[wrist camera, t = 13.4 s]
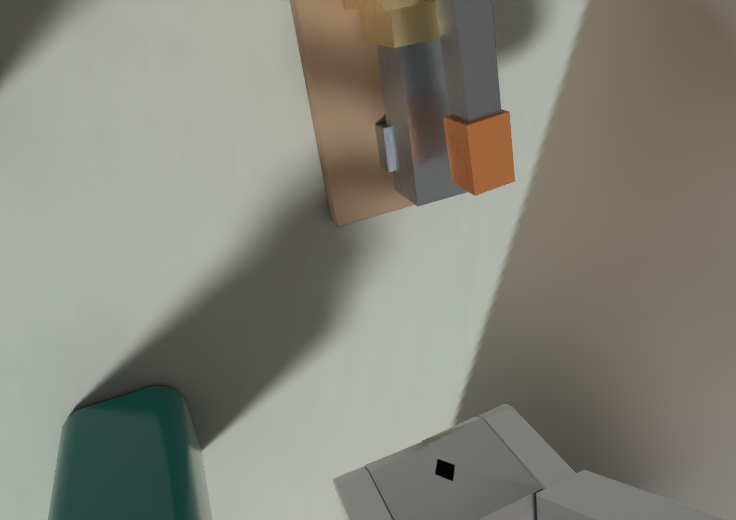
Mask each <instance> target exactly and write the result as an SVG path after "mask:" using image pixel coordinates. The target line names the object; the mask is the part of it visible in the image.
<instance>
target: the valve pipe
mask: <svg viewBox="0 0 736 520" xmlns="http://www.w3.org/2000/svg"><path fill="white" fill-rule="evenodd" d="M342 5H343V10H359V12H360V19H361V27H362V34H363V41H364V43H370V44H375V45H377V52H378V60H379V67H380V75H381V83H382V91H383V99H384V107H385V115H386V122H382V123H378V124H375V131H376V138H377V146H378V153H379V160H380V167H381V168H383V169H384V170H386V171H388V172H392V171H393V178H394V185H395V191H397V192H398V193H400V194H401V195H402V196H404V197H405V198H407V199H408V200H409V201H411V202H412V203H414V204H415V205H417V206H421V205H424V204H428V203H431V202H434V201H438V200H441V199H445V198H448V197H452V196H455V195H459V194H462V193H465V192H467V191H466V190H464V189H462V188H460V187H459V186H457V185H455V184H453V183H452V178H451V171H450V164H449V157H448V149H447V142H446V135H445V128H444V120H443V117H445V116H448V115H450V110H449V102H448V95H447V87H446V80H445V72H444V65H443V57H442V49H441V42H440V34H439V27H438V19H437V11H436V4H435V0H342Z"/></svg>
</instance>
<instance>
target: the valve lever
mask: <svg viewBox="0 0 736 520" xmlns="http://www.w3.org/2000/svg"><path fill="white" fill-rule="evenodd" d="M435 4H436V11H437V19H438V27H439V34H440V42H441V49H442V57H443V65H444V72H445V80H446V87H447V95H448V102H449V110H450V115H448V116H445V117H443V120H444V128H445V135H446V142H447V149H448V157H449V164H450V171H451V178H452V183H453V184H455V185H457V186H459V187H460V188H462V189H464V190H466V191H468V192H469V193H471V194H473V195H478V194H481V193H484V192H486V191H489V190H492V189H495V188H498V187H500V186H503V185H506V184H509V183H511V182H514V181H515V176H514V164H513V151H512V139H511V126H510V114H509V111H505V110H502V109H501V103H500V92H499V80H498V69H497V57H496V46H495V34H494V23H493V11H492V0H435Z"/></svg>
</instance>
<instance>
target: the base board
mask: <svg viewBox="0 0 736 520" xmlns="http://www.w3.org/2000/svg"><path fill="white" fill-rule="evenodd" d="M290 3H291V9H292V14H293V19H294V25H295V30H296V35H297V41H298V46H299V51H300V56H301V62H302V67H303V72H304V78H305V83H306V88H307V94H308V99H309V104H310V110H311V115H312V120H313V126H314V131H315V136H316V142H317V147H318V152H319V158H320V163H321V168H322V173H323V179H324V184H325V189H326V195H327V200H328V205H329V211H330V216H331V220H332V221H333V222H334V223H335V225H336V226H337V227H339V226H343V225H346V224H350V223H353V222H357V221H360V220H363V219H367V218H370V217H374V216H377V215H381V214H384V213H388V212H391V211H395V210H398V209H401V208H405V207H408V206H412V205H415V204H414V203H412V202H411V201H409V200H408V199H407V198H405V197H404V196H402V195H401V194H400V193H398V192H397V191H395V185H394V178H393V171H392V172H388V171H386V170H384V169H383V168H381V167H380V160H379V153H378V146H377V138H376V131H375V124H378V123H382V122H386V115H385V107H384V99H383V91H382V83H381V75H380V67H379V60H378V52H377V45H375V44H370V43H364V41H363V34H362V27H361V19H360V12H359V10H343V5H342V0H290Z"/></svg>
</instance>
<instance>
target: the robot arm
mask: <svg viewBox="0 0 736 520" xmlns="http://www.w3.org/2000/svg"><path fill="white" fill-rule="evenodd" d="M333 485H334V488H335V492H336V495H337V499H338V502H339V506H340V509H341V512H342V516H343V519H344V520H725V519H722V518H720V517H717V516H714V515H711V514H708V513H705V512H702V511H699V510H697V509H694V508H691V507H688V506H686V505H682V504H680V503H677V502H674V501H671V500H668V499H665V498H663V497H660V496H657V495H654V494H651V493H649V492H646V491H643V490H640V489H637V488H635V487H632V486H629V485H626V484H623V483H620V482H618V481H615V480H612V479H609V478H606V477H604V476H601V475H598V474H595V473H592V472H589V471H587V470H583V471H581V472H579V473H575V472H574V471H573V470H572V469H571V468H570V467H569V466H568V465H567V464H566V462H565V461H564V460H563V459H562V458H561V457H560V456H559V455H558V454H557V453H556V452H555V451H554V450H553V449H552V448H551V447H550V446H549V445H548V444H547V443H546V442H545V441H544V440H543V439H542V438H541V437H540V435H539V434H538V433H537V432H536V431H535V430H534V429H533V428H532V427H531V426H530V425H529V424H528V423H527V422H526V421H525V420H524V419H523V418H522V417H521V416H520V415H519V414H518V413H517V412H516V411H515V409H513V407H512V406H509V405H507V404H504V405H502V406H499V407H497V408H495V409H492V410H490V411H488V412H486V413H483V414H481V415H479V416H478V417H473V418H471V419H469V420H467V421H465V422H462V423H460V424H458V425H456V426H454V427H451V428H449V429H447V430H445V431H443V432H441V433H438V434H436V435H434V436H432V437H430V438H427V439H425V440H423V441H421V443H418V444H416V445H413V446H411V447H408V448H406V449H404V450H401V451H399V452H396V453H394V454H391V455H389V456H386V457H384V458H382V459H379V460H377V461H374V462H372V463H369V464H367V465H365V467H361V468H358V469H356V470H354V471H351V472H349V473H346V474H344V475H342V476H339V477H337V478H334V479H333Z"/></svg>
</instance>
